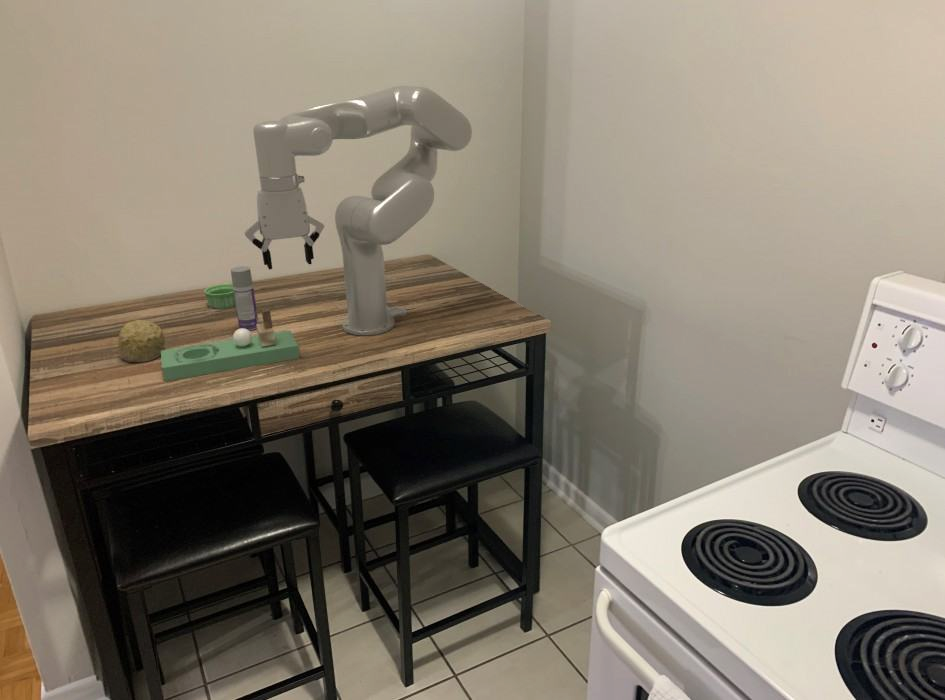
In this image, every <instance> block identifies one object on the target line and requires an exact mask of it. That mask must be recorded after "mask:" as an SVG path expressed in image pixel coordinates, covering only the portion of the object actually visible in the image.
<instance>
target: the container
mask: <svg viewBox="0 0 945 700" xmlns="http://www.w3.org/2000/svg"><path fill="white" fill-rule="evenodd" d="M230 273H231V275H230V276H231V284H233V291H234V298H235V304H236V306H235V308H236V309H235V310H236V316H237V322H238V329H241V328H244V329H247V330H249V331H250V332H251V331H255V330H257V326H256V324H260V323H259V317H258V310H257V303H256V296H255V289H254V284H253V278H252V277H253V276H252V272H251V267H249V266H245V265H243V266H235V267H232V268H231V269H230Z"/></svg>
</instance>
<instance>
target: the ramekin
mask: <svg viewBox="0 0 945 700" xmlns="http://www.w3.org/2000/svg"><path fill="white" fill-rule="evenodd" d="M204 294H205V297H206V300H207V304H208V307H209V306H210V308H211V309H214V308H217V310H222V309H223V308H225V309H230V308H233V306H234V307H236V304H235V298H234V291H233V284H232V283H220V284H219V283H218V284H215V285H211V286H208V287H207V288H205V289H204Z"/></svg>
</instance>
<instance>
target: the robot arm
mask: <svg viewBox="0 0 945 700" xmlns="http://www.w3.org/2000/svg"><path fill="white" fill-rule="evenodd" d="M402 126H411V127H410V145H409V149H408V151H407V153H406V154H405V155H404V156H403V157H402V158H401V159H400V160H399V161H398V162H396V163H395V164H394V165H393V166H392V167H390V168H389V169H388V170H386V171H385V172H384V173H382V174H381V175H380V176H379V177H378V178H377V179H376V180H375V181H374V182H373V185H372V187H371V192H370V193H371V198H370V197H366V196H361V195H351V196H348V197H345V198H344V199H342V200H341V201H340V202H339V204H338V205H337V206H336V209H335V212H334V213H335V214H334V221H335V222H334V223H335V228H336V231H337V235H338V238H339V241H340V242H339V243H340V247H341V253H342V254H341V255H342V263H343V275H344V285H345V296H346V309H347V317H346V319H344V320H343V322H342V329H343V332H344V331H345V332H346V333H348V334H351V335H356V336H373V335H380V334H383V333H386V332H388V331H390V330H392V329H393V328H394V326H395V324H396V323H395V318H396V317H403V316H404V317H405V316H407V315H408V311H407V308H406V307H399V306H398V305H396V306H393V307H392V306H391V307H389V305H388V300H387V287H386V276H385V275H386V273H385V258H384V257H385V256H384V251H383V247H382V246H386V245H387V246H388V245H390V244H392V243H394V242H396V241H397V240H399V239H400V238H401V237H402V236H404V235H405V233H407V232H408V231H410V230H411V228H412V227H414V226H415V225H416V224H417V223H419V222H420V221H421V220H422V219H423V218H424V217H425V216H426V215H427V214H428V213H429V211H430V210H431V209H432V206H433V203H434V200H435V190H434V189H435V188H434V186H433V184H432V182H431V181H433V180H434V178H435V176H436V175H437V170H438V150H441V151H442V150H443V151H448V152H449V151H450V152H459V151H461V150H463V149H465V148H466V147H467V146H468V145H469V144H470V142H471V140H472V137H473V130H472V125H471V122H470V121H469V119H468V117H467V116H466V115H465V114H464V113H462V112H461V110H459V109H457V108H456V107H455V106H453V105H452V104H451V103H449V102H448V101H447V100H446V99H444V98H443V97H442V96H441V95H439V94H437V93H436V92H434V91H433V90H431V89H429V87H424V86H408V85H399V86H393V87H390V88H386V89H384V90H380V91H376V92H374V93H371V94H367V95H363V96H359V97H356V98H353V99H352V98H351V99H347V100H341V101H338V102H335V103H334V102H333V103H330V104H324V105H320V106H319V105H318V106H314V107H309V108H306V109H303V110H299V111H298V112H297V111H296V112H293V113H290V114H287V115H284V116H283V117H282V118H280V119H279V120H267V121H261V122H258V123H255V125H254V126H253V140H254V147H255V152H256V153H255V155H256V161H257V166H258V167H257V168H258V169H257V170H258V177H259V183H260V190H258V191H257V195H256V196H257V197H256V201H257V203H256V206H257V221H256V222H254V223H253V224H252V225H251V226H250V227H249V228H248V229H246V230H245V231H244V236H245V237H246V238H247V239H248V240H249V241H250V242H251V243H252V244H253V245H254V246H255V247H256V248H258V249H260V251H261V252H262V259H263V265H264V266H267V268H268V270H272V269H273V263H272V256H271V251H270V248H269V247H270V246H271V243H272V241H274V240H284V239H292V238H300V237H301V238H303V240H304V244H303V248H304V256H305V262H306V263H307V264H308V265H312V260H314V249H313V246H315V245H314V244H315V243H316V241H317V240H318V239H319V237H320V235H321V233H322V232H323V230H324V228H325V224H323V223H322V222H321V221H319V220H317V219H315V218H314V217H311V216H310V215H308V208H307V204H306V199H305V195H304V193H303V189H302V187H300V184H302V183H305V176H304V175H299V174H298V173H297V165H296V156H300V157H301V156H302V157H303V156H304V157H305V156H308V157H309V156H311V157H313V156H314V157H315V156H320V155H322V154H324V153H326V152H327V151H328V150H329V149H330V148H331V147H332V145H333V140H359V139H366V138H370V137H373V136H376V135H379V134H381V133H385V132H387V131H391V130H393V129H397V128H399V127H402ZM310 224H311V225H312V226H314V227H315V228H314V230H313V231H312V232H311V229H310V228H311V226H310ZM258 231H259V233H260V235H262V239H261V240H259V239H258V238H257V237H256V236H255V234H256V232H258ZM310 232H311V234H310ZM309 234H310V235H309Z"/></svg>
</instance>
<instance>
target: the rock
mask: <svg viewBox="0 0 945 700" xmlns="http://www.w3.org/2000/svg"><path fill="white" fill-rule="evenodd" d="M165 344H166V340H165V333H164V331H163V329H162V328H161V327H160V326H159V325H158V324H156V323H154V322H152V321H150V320H142V319H137V320H132V321H129V322H127V323H125V325H124V326H122V328H121V330H120V332H119V334H118V337H117V345H118V354H119V358H120V359H121V360H123V361H126V362H130V363H131V362H132V363H145V362H150V361H154V360H156V359H158V358H159V357H161V351H162V350H165V346H164V345H165Z"/></svg>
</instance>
